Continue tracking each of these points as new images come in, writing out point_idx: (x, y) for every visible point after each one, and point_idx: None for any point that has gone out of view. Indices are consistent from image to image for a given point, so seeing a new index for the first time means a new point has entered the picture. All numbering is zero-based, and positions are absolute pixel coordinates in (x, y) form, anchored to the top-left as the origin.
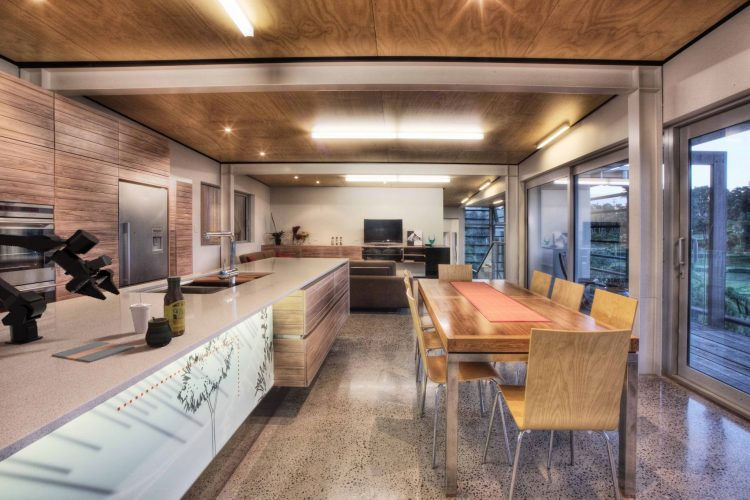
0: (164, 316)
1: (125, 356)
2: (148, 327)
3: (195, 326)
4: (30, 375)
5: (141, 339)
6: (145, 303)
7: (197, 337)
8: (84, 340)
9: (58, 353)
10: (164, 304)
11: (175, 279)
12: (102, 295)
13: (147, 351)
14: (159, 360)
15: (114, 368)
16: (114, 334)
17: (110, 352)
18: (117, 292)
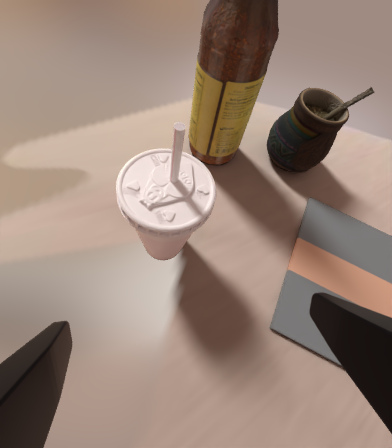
0: (247, 115)
1: (358, 193)
2: (335, 133)
3: (136, 121)
4: None
5: (244, 210)
6: (129, 177)
7: None
8: (244, 410)
9: None
10: (260, 74)
11: None
12: (359, 309)
13: (326, 166)
14: (363, 134)
15: None
16: (176, 329)
17: (354, 230)
18: (60, 343)
